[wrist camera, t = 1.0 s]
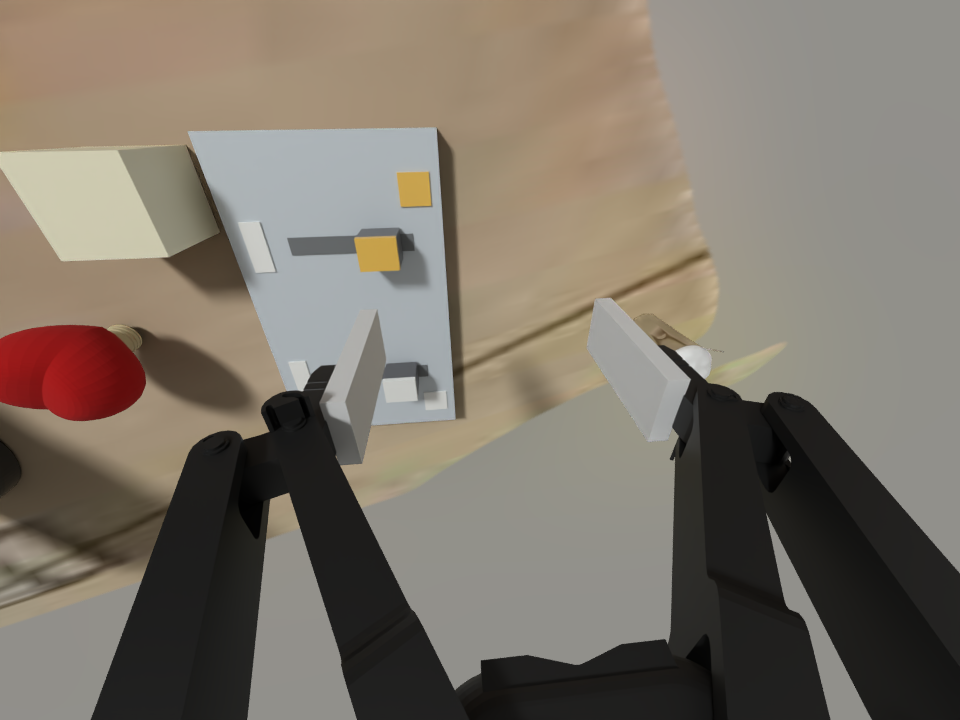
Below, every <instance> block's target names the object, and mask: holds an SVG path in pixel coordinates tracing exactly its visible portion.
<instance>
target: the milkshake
mask: <svg viewBox="0 0 960 720" xmlns="http://www.w3.org/2000/svg"><path fill="white" fill-rule="evenodd" d="M633 321H634V322H635V323H636V324H637V325H638V326H639V327H640V328H641V329H642V330H643V331H644V332H645V333H646V334H647V335H648V336H649V337H650V338H651V339H652V340H653V341H654V342H655V343H656V345H665V346H667V347H669V348H670V349H672V350H674V351H676V352H677V353H678V354H679V355H680V356H681V357H682V358H683V360H685V361H686V362H687V363H688V364H689V366H691V367H692V368H693V369H694V370H695V371H696V372H697V373H698V374H700V375H701V376H702V377H703V378H704V379H705V378H706V377H708V375H709V374H710V370H711V361H712V359H711V355H710V353H709V352H708V351H707V350H706V349H708V348H703V347H702V346H700V345H698V344H697V343H695V342H694V341H692V340H691V339H689V338H687V337H686V336H684V335H683V334H681V333H680V332H678V331H677V330H675V329H674V328H672V327H671V326H669V325H668V324H667V323H665V322H664V321H662V320H661V319H659V318H658V317H657V316H655V315H654V314H642V315H640V316H638V317H636V318H635V319H634V320H633ZM708 350H713V351H719V350H714V349H708ZM720 352H722V351H720Z"/></svg>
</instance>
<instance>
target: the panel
mask: <svg viewBox="0 0 960 720" xmlns="http://www.w3.org/2000/svg"><path fill="white" fill-rule="evenodd" d="M188 134H189V137H190V139H191V142H192V144H193V147H194V150H195V152H196V155H197V158H198V160H199V163H200V165H201V168H202V171H203V173H204V176H205V178H206V181H207V184H208V186H209V189H210V191H211V194H212V197H213V199H214V202H215V205H216V207H217V210H218V212H219V215H220V218H221V220H222V223H223V225H224V228H225V231H226V233H227V236H228V238H229V241H230V244H231V246H232V249H233V252H234V254H235V257H236V259H237V262H238V265H239V267H240V270H241V272H242V275H243V278H244V280H245V283H246V285H247V288H248V291H249V293H250V296H251V299H252V301H253V304H254V306H255V309H256V312H257V314H258V317H259V319H260V322H261V325H262V327H263V330H264V332H265V335H266V338H267V340H268V343H269V346H270V348H271V351H272V353H273V356H274V359H275V361H276V364H277V366H278V369H279V372H280V374H281V377H282V380H283V382H284V385H285V387H286V390H287V391H293V390H299V391H304V390H303V389H304V387H305V385H306V384H307V381H308V379H309V377H310V376H311V374H312V373H313V372H314V371H315V370H316V369H317V368H319V367H320V366H322V365H336V364H337V362H338V359H339V357H340V355H341V353H342V350H343V348H344V346H345V343H346V341H347V339H348V337H349V334H350V332H351V330H352V327H353V325H354V323H355V321H356V318H357V316H358V314H359V312H360V310H367V309H377V310H378V316H379V321H380V327H381V332H382V338H383V343H384V349H385V354H386V364H388V363H404V362H417V368H418V376H419V391H418V401H406V402H391V403H386V398H385V393H384V388H383V383H382V381H383V377H384V372H385V368H386V364H385V368H384V372H383V377H382V381H381V385H380V389H379V394H378V398H377V402H376V406H375V411H374V415H373V419H372V424H371V425H384V424H398V423H412V422H426V421H440V420H454V419H455V401H454V386H453V371H452V355H451V340H450V325H449V309H448V294H447V278H446V263H445V248H444V232H443V217H442V202H441V186H440V171H439V156H438V140H437V128H372V129H305V130H238V131H188ZM370 228H400V236H401V243H402V251H403V261H402V265H401V269H400V270H398V271H375V272H360V267H359V262H358V257H357V252H356V247H355V242H354V238H355V237H356V236H357V234H358V233H359V232H360V230H361V229H370Z"/></svg>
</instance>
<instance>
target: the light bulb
mask: <svg viewBox="0 0 960 720" xmlns="http://www.w3.org/2000/svg"><path fill="white" fill-rule="evenodd" d="M141 345H142V338H141V336H140V335H139V334H138V332H136V331H135V330H134V329H132V328H130V327H128V326H125V325H119V324H118V325H113V326H111V327H109V328H107V329H105V328H103V327H97V326H85V325H56V326H45V327H38V328H31V329H27V330H23V331H19V332H16V333H12V334H9V335H7V336H5V337H3V338H1V339H0V402H2V403H5V404H9V405H12V406H18V407H23V408H32V409H49V410H50V411H51V412H52V413H54V414H55V415H57V416H59V417H61V418H64V419H67V420H73V421H89V420H96V419H102V418H106V417H109V416H112V415H115V414H117V413H119V412H122V411H124V410H126V409H127V408H129V407H130V406H131V405H133V404H134V403H135V402H136V401H137V400H138V399H139V398H140V396H141V395H142V393H143V391H144V388H145V385H146V377H145V372H144V370H143V367H142V365H141V363H140V362H139V360H138V359H137V357H136V356H135V355H134V353H133V352H134V351H135V350H137V349H138V348H139V347H140V346H141Z"/></svg>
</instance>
